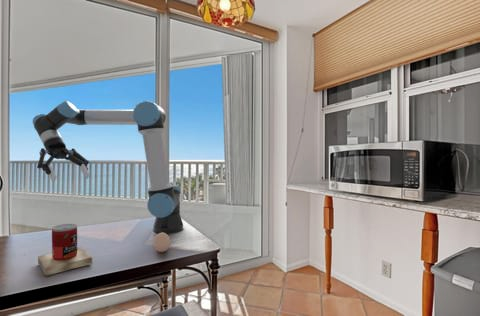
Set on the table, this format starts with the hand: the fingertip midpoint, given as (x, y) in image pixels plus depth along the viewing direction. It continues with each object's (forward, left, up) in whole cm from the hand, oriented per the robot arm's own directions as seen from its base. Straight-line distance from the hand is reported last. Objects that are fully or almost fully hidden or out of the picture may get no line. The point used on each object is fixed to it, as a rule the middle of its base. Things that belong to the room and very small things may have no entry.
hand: (72, 178), depth 116 cm
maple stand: (+7, +18, -30) cm, 35 cm away
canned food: (+7, +18, -27) cm, 33 cm away
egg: (-25, +30, -30) cm, 49 cm away
